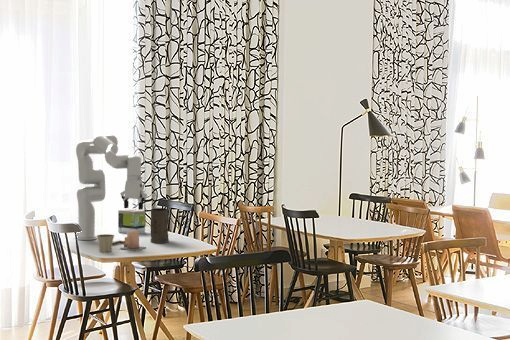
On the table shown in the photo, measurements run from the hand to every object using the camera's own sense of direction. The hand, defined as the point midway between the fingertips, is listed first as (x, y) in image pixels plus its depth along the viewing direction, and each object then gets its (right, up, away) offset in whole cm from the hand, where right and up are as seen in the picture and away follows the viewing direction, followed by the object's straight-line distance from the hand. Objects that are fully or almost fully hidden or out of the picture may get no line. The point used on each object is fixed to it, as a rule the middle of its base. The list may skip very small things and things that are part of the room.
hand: (133, 208), depth 356 cm
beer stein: (+11, -22, +25) cm, 35 cm away
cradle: (-8, -22, +10) cm, 25 cm away
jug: (-1, -22, -2) cm, 22 cm away
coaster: (0, -22, 0) cm, 22 cm away
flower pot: (-14, -23, -9) cm, 28 cm away
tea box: (-12, -19, +58) cm, 62 cm away
